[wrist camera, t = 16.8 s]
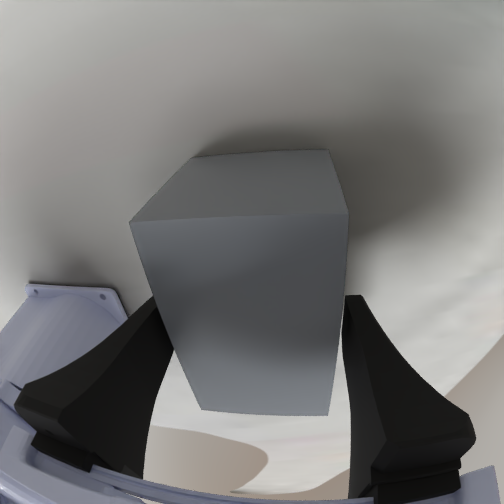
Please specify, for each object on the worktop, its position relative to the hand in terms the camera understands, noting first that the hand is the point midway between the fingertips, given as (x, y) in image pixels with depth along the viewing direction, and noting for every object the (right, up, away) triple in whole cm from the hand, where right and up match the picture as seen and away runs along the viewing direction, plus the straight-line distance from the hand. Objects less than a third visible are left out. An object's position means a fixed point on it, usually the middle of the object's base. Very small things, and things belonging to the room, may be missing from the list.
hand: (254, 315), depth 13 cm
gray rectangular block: (+1, +3, +4) cm, 5 cm away
